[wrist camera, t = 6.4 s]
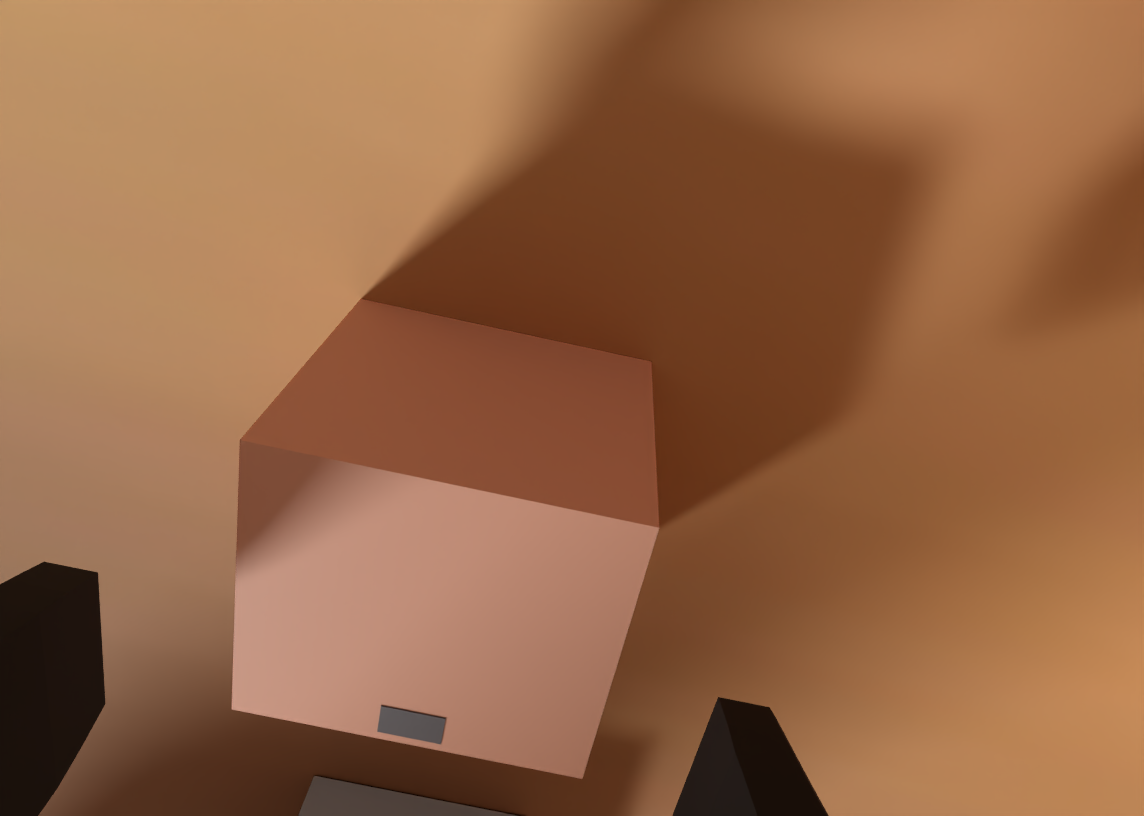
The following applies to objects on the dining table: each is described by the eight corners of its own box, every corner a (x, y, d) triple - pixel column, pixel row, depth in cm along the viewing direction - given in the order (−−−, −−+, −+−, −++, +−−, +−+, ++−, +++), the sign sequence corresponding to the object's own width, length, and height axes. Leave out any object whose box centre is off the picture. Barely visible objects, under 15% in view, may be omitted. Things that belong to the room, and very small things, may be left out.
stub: (595, 563, 17) (581, 780, 12) (341, 510, 16) (230, 710, 12) (651, 359, 15) (659, 528, 10) (361, 297, 14) (238, 440, 10)
